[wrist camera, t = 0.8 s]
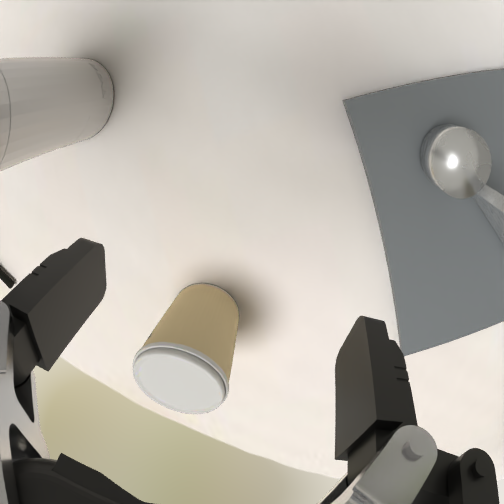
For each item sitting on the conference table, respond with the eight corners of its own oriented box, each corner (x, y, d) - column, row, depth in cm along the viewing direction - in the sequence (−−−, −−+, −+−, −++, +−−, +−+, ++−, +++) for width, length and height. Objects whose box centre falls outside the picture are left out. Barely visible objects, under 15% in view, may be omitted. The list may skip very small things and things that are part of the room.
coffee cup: (158, 282, 37) (112, 352, 26) (233, 270, 35) (205, 348, 24) (186, 342, 41) (156, 414, 30) (255, 335, 39) (239, 416, 28)
